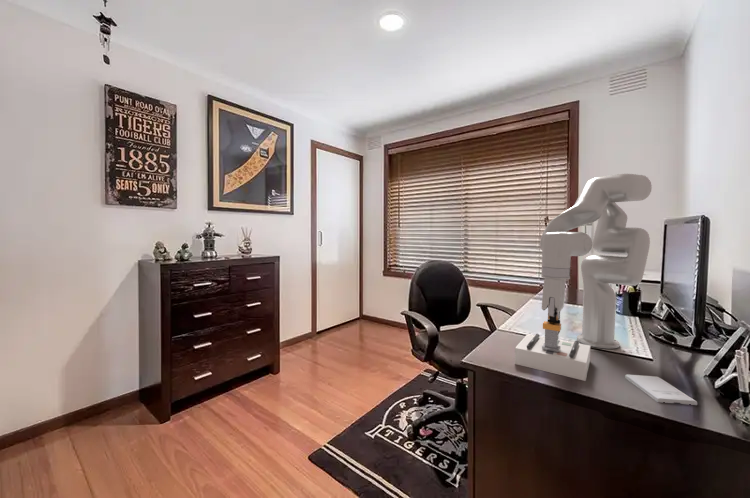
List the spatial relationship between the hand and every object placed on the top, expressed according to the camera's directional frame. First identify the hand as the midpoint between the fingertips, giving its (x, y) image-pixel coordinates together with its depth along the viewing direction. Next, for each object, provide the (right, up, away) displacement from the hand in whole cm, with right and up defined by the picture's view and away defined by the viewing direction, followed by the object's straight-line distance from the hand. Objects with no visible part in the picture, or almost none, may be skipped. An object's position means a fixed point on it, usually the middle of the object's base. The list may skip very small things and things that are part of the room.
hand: (553, 332), depth 97 cm
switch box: (0, -9, 0) cm, 9 cm away
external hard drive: (+17, -11, -17) cm, 26 cm away
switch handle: (-2, -5, -3) cm, 6 cm away
